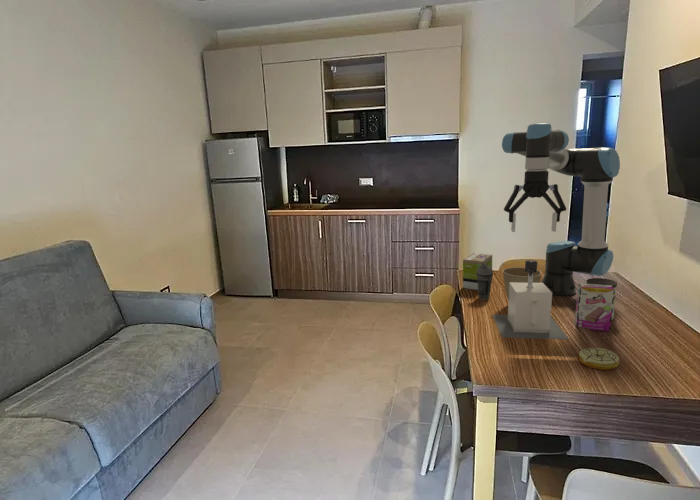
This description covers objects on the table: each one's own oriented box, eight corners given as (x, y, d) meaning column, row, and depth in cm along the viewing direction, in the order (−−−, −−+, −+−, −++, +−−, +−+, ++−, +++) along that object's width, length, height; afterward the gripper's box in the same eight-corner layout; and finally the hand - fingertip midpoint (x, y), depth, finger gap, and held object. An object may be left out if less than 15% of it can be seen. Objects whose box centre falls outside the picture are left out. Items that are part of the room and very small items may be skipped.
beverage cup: (490, 295, 198) (491, 253, 194) (494, 301, 191) (495, 257, 187) (474, 295, 199) (475, 253, 194) (477, 301, 192) (478, 257, 187)
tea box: (473, 280, 223) (473, 252, 220) (492, 283, 217) (493, 254, 214) (462, 288, 211) (462, 258, 208) (482, 291, 205) (483, 261, 202)
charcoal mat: (550, 318, 169) (550, 315, 169) (569, 342, 148) (569, 339, 148) (492, 316, 173) (492, 314, 172) (502, 339, 152) (502, 337, 151)
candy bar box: (576, 329, 158) (579, 286, 155) (574, 324, 163) (577, 282, 159) (611, 332, 154) (615, 288, 151) (607, 327, 159) (612, 284, 156)
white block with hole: (540, 320, 165) (542, 282, 162) (551, 336, 151) (554, 295, 147) (507, 319, 167) (509, 282, 164) (515, 335, 153) (517, 294, 149)
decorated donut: (575, 354, 140) (576, 343, 139) (613, 358, 136) (614, 347, 135) (581, 369, 130) (582, 357, 129) (622, 374, 126) (623, 362, 126)
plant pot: (546, 312, 175) (549, 274, 172) (512, 316, 173) (514, 277, 169) (526, 300, 190) (528, 265, 186) (494, 303, 187) (496, 268, 184)
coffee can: (583, 310, 177) (585, 276, 174) (612, 313, 172) (615, 279, 169) (584, 318, 168) (587, 284, 165) (615, 322, 163) (619, 286, 160)
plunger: (538, 319, 164) (541, 258, 159) (545, 328, 154) (549, 264, 149) (511, 318, 165) (514, 258, 160) (517, 328, 156) (520, 264, 151)
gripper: (571, 168, 150) (567, 229, 154) (496, 170, 154) (494, 229, 158) (579, 169, 142) (574, 232, 147) (500, 171, 146) (498, 233, 151)
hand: (533, 231), depth 153 cm, fingers open, 13 cm apart
